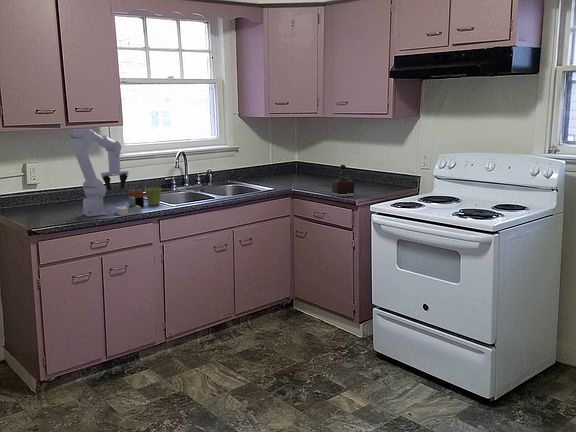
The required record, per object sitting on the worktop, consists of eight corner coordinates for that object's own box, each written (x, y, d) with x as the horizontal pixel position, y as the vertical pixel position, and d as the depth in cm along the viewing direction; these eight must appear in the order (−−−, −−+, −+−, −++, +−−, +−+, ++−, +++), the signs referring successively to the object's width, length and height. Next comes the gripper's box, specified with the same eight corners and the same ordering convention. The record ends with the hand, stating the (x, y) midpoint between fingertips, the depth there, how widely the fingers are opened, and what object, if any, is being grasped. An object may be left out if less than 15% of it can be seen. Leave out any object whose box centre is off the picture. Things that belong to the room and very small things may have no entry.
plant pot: (149, 202, 330) (148, 187, 328) (165, 203, 328) (164, 188, 326) (142, 205, 321) (141, 190, 319) (158, 206, 319) (157, 190, 317)
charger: (120, 215, 295) (120, 208, 294) (115, 212, 301) (114, 206, 301) (142, 212, 301) (142, 206, 300) (136, 210, 308) (136, 204, 307)
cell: (130, 212, 300) (130, 197, 298) (128, 210, 302) (127, 196, 301) (136, 211, 302) (136, 197, 300) (134, 210, 304) (133, 196, 303)
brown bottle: (355, 196, 352) (356, 167, 348) (339, 197, 348) (339, 167, 344) (343, 192, 366) (344, 164, 362) (327, 193, 362) (328, 164, 358)
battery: (129, 207, 316) (128, 189, 314) (142, 206, 319) (141, 188, 317) (131, 208, 312) (130, 190, 310) (144, 207, 316) (143, 189, 314)
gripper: (104, 165, 300) (105, 191, 303) (130, 163, 309) (131, 188, 312) (98, 164, 305) (100, 189, 308) (124, 162, 315) (125, 187, 317)
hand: (115, 189), depth 310 cm, fingers open, 7 cm apart
